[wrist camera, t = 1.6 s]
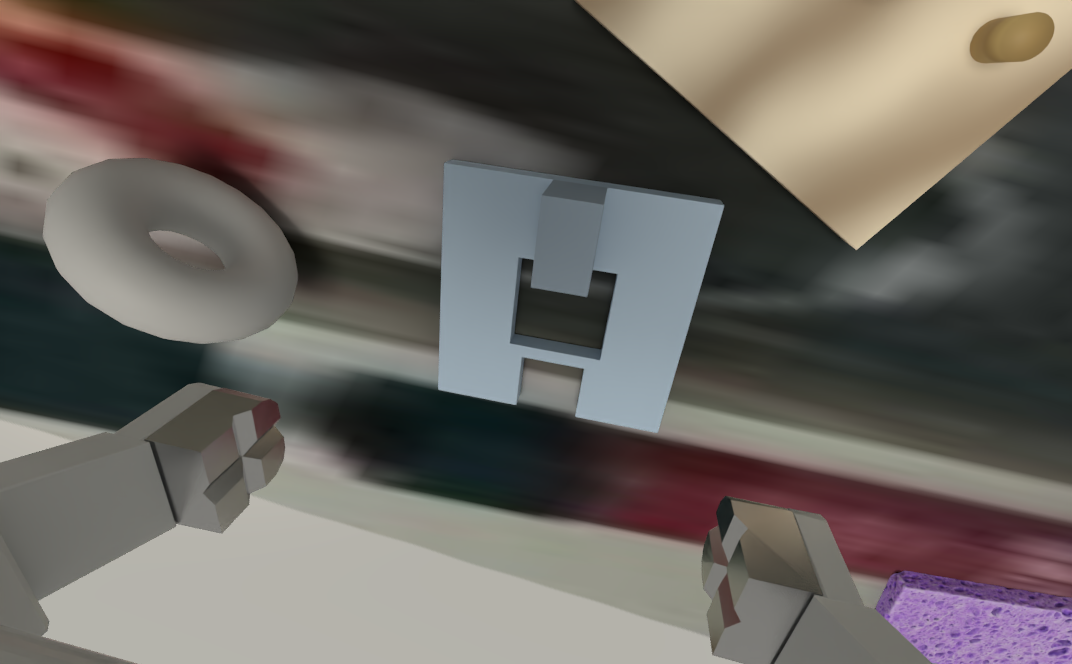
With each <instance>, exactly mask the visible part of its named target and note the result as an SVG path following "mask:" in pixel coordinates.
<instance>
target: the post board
mask: <svg viewBox="0 0 1072 664" xmlns="http://www.w3.org/2000/svg"><path fill="white" fill-rule="evenodd" d="M575 2H576V3H578V4H579V5H580V6H581V7H582V8H583V9H584V10H585V11H587V12H588V13H589V14H590V15H591V16H592V17H593V18H594V19H596V20H597V21H598V22H599V23H600V24H601V25H602V26H603V27H605V28H606V29H607V30H608V31H609V32H610V33H611V34H612V35H614V36H615V37H616V38H617V39H618V40H619V41H620V42H621V43H622V44H624V45H625V46H626V47H627V48H628V49H629V50H630V51H631V52H633V53H634V54H635V55H636V56H637V57H638V58H639V59H640V60H642V61H643V62H644V63H645V64H646V65H647V66H648V67H649V68H651V69H652V70H653V71H654V72H655V73H656V74H657V75H658V76H660V77H661V78H662V79H663V80H664V81H665V82H666V83H667V84H669V85H670V86H671V87H672V88H673V89H674V90H675V91H676V92H678V93H679V94H680V95H681V96H682V97H683V98H684V99H685V100H686V101H688V102H689V103H690V104H691V105H692V106H693V107H694V108H695V109H697V110H698V111H699V112H700V113H701V114H702V115H703V116H704V117H706V118H707V119H708V120H709V121H710V122H711V123H712V124H713V125H715V126H716V127H717V128H718V129H719V130H720V131H721V132H722V133H724V134H725V135H726V136H727V137H728V138H729V139H730V140H731V141H733V142H734V143H735V144H736V145H737V146H738V147H739V148H740V149H742V150H743V151H744V152H745V153H746V154H747V155H748V156H749V157H751V158H752V159H753V160H754V161H755V162H756V163H757V164H758V165H759V166H761V167H762V168H763V169H764V170H765V171H766V172H767V173H768V174H770V175H771V176H772V177H773V178H774V179H775V180H776V181H777V182H779V183H780V184H781V185H782V186H783V187H784V188H785V189H786V190H788V191H789V192H790V193H791V194H792V195H793V196H794V197H795V198H797V199H798V200H799V201H800V202H801V203H802V204H803V205H804V206H806V207H807V208H808V209H809V210H810V211H811V212H812V213H813V214H815V215H816V216H817V217H818V218H819V219H820V220H821V221H822V222H823V223H825V224H826V225H827V226H828V227H829V228H830V229H831V230H832V231H834V232H835V233H836V234H837V235H838V236H839V237H840V238H841V239H843V240H844V241H845V242H846V243H848V244H849V245H850V246H852V247H853V248H854V249H856V250H857V249H858V248H859V247H861V246H862V245H863V244H864V243H865V242H867V241H868V240H869V239H870V238H871V237H873V236H874V235H875V234H876V233H877V232H878V231H880V230H881V229H882V228H883V227H884V226H886V225H887V224H888V223H889V222H890V221H891V220H893V219H894V218H895V217H896V216H897V215H899V214H900V213H901V212H902V211H903V210H905V209H906V208H907V207H908V206H909V205H910V204H912V203H913V202H914V201H915V200H916V199H918V198H919V197H920V196H921V195H922V194H923V193H925V192H926V191H927V190H928V189H929V188H931V187H932V186H933V185H934V184H935V183H937V182H938V181H939V180H940V179H941V178H942V177H944V176H945V175H946V174H947V173H948V172H950V171H951V170H952V169H953V168H954V167H955V166H957V165H958V164H959V163H960V162H961V161H963V160H964V159H965V158H966V157H967V156H969V155H970V154H971V153H972V152H973V151H974V150H976V149H977V148H978V147H979V146H980V145H982V144H983V143H984V142H985V141H986V140H987V139H989V138H990V137H991V136H992V135H993V134H995V133H996V132H997V131H998V130H999V129H1001V128H1002V127H1003V126H1004V125H1005V124H1006V123H1008V122H1009V121H1010V120H1011V119H1012V118H1014V117H1015V116H1016V115H1017V114H1018V113H1019V112H1021V111H1022V110H1023V109H1024V108H1025V107H1027V106H1028V105H1029V104H1030V103H1031V102H1032V101H1034V100H1035V99H1036V98H1037V97H1038V96H1040V95H1041V94H1042V93H1043V92H1044V91H1046V90H1047V89H1048V88H1049V87H1050V86H1051V85H1053V84H1054V83H1055V82H1056V81H1057V80H1059V79H1060V78H1061V77H1062V76H1063V75H1064V74H1066V73H1067V72H1068V71H1069V70H1070V69H1072V0H575Z"/></svg>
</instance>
